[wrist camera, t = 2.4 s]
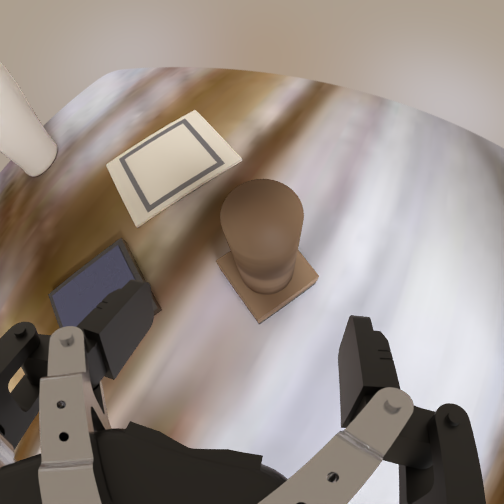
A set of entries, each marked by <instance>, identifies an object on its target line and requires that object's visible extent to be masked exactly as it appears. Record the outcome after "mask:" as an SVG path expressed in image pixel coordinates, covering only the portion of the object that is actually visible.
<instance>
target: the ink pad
mask: <svg viewBox="0 0 504 504" xmlns="http://www.w3.org/2000/svg"><path fill="white" fill-rule="evenodd" d="M131 279H133V280H138V281H143V282H146V280H145V279H144V277H143V275H142V273H141V271H140V269H139V267H138V265H137V263H136V261H135V259H134V257H133V255H132V254H131V252H130V250H129V247H128V245H127V243H126V242H125V241H124V240H123V239H122V238H120V239H119V240H117V241H116V242H115V243H113V244H112V245H111V246H109V247H108V248H107V249H105V250H104V251H103V252H101V253H100V254H99V255H97V256H96V257H95V258H93V259H92V260H91V261H89V262H88V263H87V264H86V265H84V266H83V267H82V268H80V269H79V270H78V271H77V272H75V273H74V274H73V275H72V276H70V277H69V278H68V279H67V280H65V281H64V282H63V283H62V284H60V285H59V286H58V287H57V288H56V289H54V290H53V291H52V292H51V293H50V294H48V295H49V298H50V301H51V304H52V307H53V310H54V313H55V316H56V319H57V322H58V324H59V327H60V328H62V327H66V326H74V327H76V326H77V325H78V324H79V323H80V322H81V321H82V320H83V319H84V318H85V317H86V316H87V315H88V314H89V313H90V312H91V311H92V310H93V309H94V308H96V306H97V305H98V304H99V303H100V302H102V300H103V299H104V298H105V297H106V296H107V295H108V294H109V293H111V292H113V291H115V290H117V289H119V288H120V289H122V288H123V287H124V286H125V285H126V284H127V283H128V282H129V281H130V280H131ZM151 296H152V304H153V311H154V315H156V314H157V313H158V312H160V311H161V310H162V309H161V307H160V306H159V304H158V302H157V300H156V299H155V297H154V295H153V293H152V291H151Z"/></svg>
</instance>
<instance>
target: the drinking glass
mask: <svg viewBox="0 0 504 504" xmlns="http://www.w3.org/2000/svg"><path fill="white" fill-rule="evenodd" d="M0 151H1V153H3V154H4V155H5V156H6V157H8V158H9V159H10V160H11V161H13V162H14V163H15V164H16V165H18V166H19V167H20V168H21V169H22V170H23V171H24V172H25V173H26V174H28V175H29V176H32V177H34V176H38V175H40V174H42V173H43V172H45V171H46V170H47V169H48V168H49V167H50V165H51V164H52V163H53V161H54V159H55V157H56V154H57V145H56V143H55V142H54V141H53V139H52V138H51V137H50V136H49V134H48V133H47V131H46V130H45V128H44V127H43V125H42V124H41V122H40V120H39V119H38V117H37V116H36V114H35V112H34V111H33V109H32V107H31V106H30V104H29V103H28V101H27V99H26V97H25V96H24V94H23V92H22V90H21V89H20V87H19V86H18V84H17V82H16V81H15V79H14V78H13V77H12V75H11V74H10V72H9V71H8V70H7V69H6V68H5V66H4V65H3V64H2V62H0Z"/></svg>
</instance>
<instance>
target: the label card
mask: <svg viewBox="0 0 504 504" xmlns="http://www.w3.org/2000/svg"><path fill="white" fill-rule="evenodd" d="M241 161H242V158H241V157H240V156H239V155H238V154H237V153H236V152H235V151H234V150H233V149H232V147H231V146H230V145H229V144H228V143H227V142H226V141H225V140H224V139H223V138H222V137H221V136H220V135H219V134H218V133H217V132H216V131H215V130H214V129H213V127H212V126H211V125H210V124H209V123H208V122H207V121H206V120H205V119H204V118H203V117H202V116H201V115H200V114H199V113H198V112H197V111H196V110H194V111H192V112H190V113H188V114H187V115H185V116H183V117H181V118H179V119H178V120H176V121H174V122H172V123H171V124H169V125H167V126H165V127H164V128H162V129H160V130H159V131H157V132H155V133H154V134H152V135H150V136H149V137H147V138H146V139H144V140H142V141H141V142H139V143H138V144H136V145H134V146H133V147H131V148H130V149H128V150H127V151H125V152H124V153H122V154H121V155H119V156H118V157H116V158H115V159H114V160H112V161H111V162H109V163H108V164H106V166H107V168H108V171H109V173H110V175H111V177H112V179H113V181H114V183H115V185H116V188H117V190H118V192H119V194H120V196H121V198H122V200H123V202H124V204H125V206H126V208H127V210H128V212H129V214H130V216H131V218H132V220H133V222H134V224H135V226H136V227H137V228H138V227H139V226H141V225H142V224H144V223H145V222H147V221H148V220H149V219H151V218H152V217H154V216H155V215H157V214H158V213H160V212H161V211H163V210H164V209H166V208H167V207H169V206H170V205H172V204H173V203H175V202H176V201H178V200H179V199H181V198H182V197H184V196H186V195H187V194H189V193H190V192H192V191H193V190H195V189H197V188H198V187H200V186H201V185H203V184H205V183H206V182H208V181H209V180H211V179H213V178H214V177H216V176H218V175H219V174H221V173H223V172H224V171H226V170H228V169H229V168H231V167H233V166H234V165H236V164H238V163H239V162H241Z"/></svg>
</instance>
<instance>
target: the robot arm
mask: <svg viewBox="0 0 504 504" xmlns="http://www.w3.org/2000/svg"><path fill="white" fill-rule="evenodd" d="M153 318H154V311H153V304H152V296H151V287H150V284H149V283H148V282H143V281H138V280H133V279H131V280H130V281H129V282H128V283H127V284H126V285H125V286H124V287H123V288H122V289H120V288H119V289H117V290H115V291H113V292H111V293H109V294H108V295H107V296H106V297H105V298H104V299H103V300H102V302H100V303H99V304H98V305H97V306H96V308H94V309H93V310H92V311H91V312H90V313H89V314H88V315H87V316H86V317H85V318H84V319H83V320H82V321H81V322H80V323H79V324H78V325H77V326H76V327H74V326H66V327H62V328H60V329H58V330H56V331H55V332H54V333H53V334H52V336H51V335H41V334H38V333H37V331H36V328H35V326H34V325H33V324H32V323H30V322H21V323H18V324H16V325H14V326H12V327H11V328H10V329H9V330H8V331H7V332H6V333H5V334H4V335H3V336H2V337H1V338H0V504H347V503H348V502H349V501H350V500H351V499H352V498H353V496H354V495H355V494H356V493H357V492H358V491H359V489H360V488H361V487H362V486H363V485H364V484H365V482H366V481H367V480H368V479H369V477H370V476H371V475H372V474H373V472H374V471H375V470H376V468H377V467H378V466H379V464H380V463H381V462H382V460H385V461H388V462H392V463H396V464H399V504H486V501H485V493H484V486H483V480H482V474H481V468H480V463H479V458H478V453H477V448H476V444H475V440H474V436H473V431H472V428H471V424H470V420H469V417H468V415H467V413H466V412H465V410H464V409H462V408H461V407H460V406H458V405H455V404H450V403H449V404H444V405H442V406H440V407H439V408H438V409H437V411H436V412H434V411H430V410H426V409H422V408H419V407H416V406H414V405H413V401H412V399H411V398H410V396H409V395H408V394H407V393H405V392H404V391H402V390H400V386H399V382H398V377H397V373H396V369H395V365H394V361H393V360H392V359H393V358H392V354H391V352H390V351H391V350H390V347H389V343H388V340H387V339H386V338H385V336H384V335H383V334H382V333H381V331H373V327H372V323H371V319H370V317H363V316H354V315H351V316H350V317H349V320H348V323H347V326H346V329H345V332H344V335H343V339H342V342H341V345H340V348H339V354H338V366H339V383H340V406H341V428H346V429H345V430H344V431H340V432H338V433H337V434H336V435H335V436H334V437H333V438H332V439H331V440H330V441H329V442H328V443H327V444H326V445H325V446H324V447H323V448H322V449H321V450H320V451H319V452H318V453H317V454H316V455H315V456H314V457H313V458H312V459H311V460H310V461H308V462H307V463H306V464H305V465H304V466H303V467H302V468H301V469H300V470H298V471H297V472H296V473H295V474H294V475H293V476H292V477H290V478H289V479H287V478H286V477H284V476H283V475H282V474H280V473H279V472H277V471H276V470H274V469H272V468H270V467H268V466H265V465H263V464H261V462H262V457H263V456H261V455H255V454H249V453H243V452H238V451H233V450H228V449H191V448H188V447H186V446H184V445H182V444H180V443H179V442H177V441H175V440H173V439H172V438H170V437H168V436H166V435H165V434H163V433H161V432H159V431H156V430H153V429H150V428H147V427H145V426H142V425H139V424H136V423H133V422H131V421H130V423H129V424H128V426H127V428H126V429H111V426H110V423H109V420H108V415H107V410H106V405H105V399H104V393H103V387H102V383H101V379H102V378H103V377H104V376H105V377H108V378H111V379H113V380H114V379H115V378H116V376H117V375H118V373H119V372H120V371H121V369H122V368H123V366H124V365H125V363H126V362H127V360H128V359H129V357H130V356H131V355H132V353H133V352H134V350H135V349H136V347H137V346H138V344H139V343H140V342H141V340H142V339H143V337H144V336H145V334H146V333H147V332H148V330H149V329H150V327H151V325H152V323H153ZM20 367H22V369H23V371H24V373H25V375H24V376H23V378H22V379H21V380H20V381H19V383H18V384H17V385H16V387H15V388H14V389H13V391H12V392H11V393H10V392H9V390H8V383H9V381H10V379H11V378H12V377H13V376H14V374H15V373H16V372H17V371H18V369H19V368H20ZM38 412H39V423H40V445H41V454H38V455H35V456H32V457H29V458H26V459H23V460H20V461H17V462H16V460H15V459H14V450H15V448H16V446H17V445H18V443H19V441H20V440H21V438H22V437H23V435H24V433H25V432H26V430H27V429H28V427H29V426H30V424H31V422H32V421H33V419H34V418H35V416H36V415H37V413H38Z"/></svg>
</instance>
